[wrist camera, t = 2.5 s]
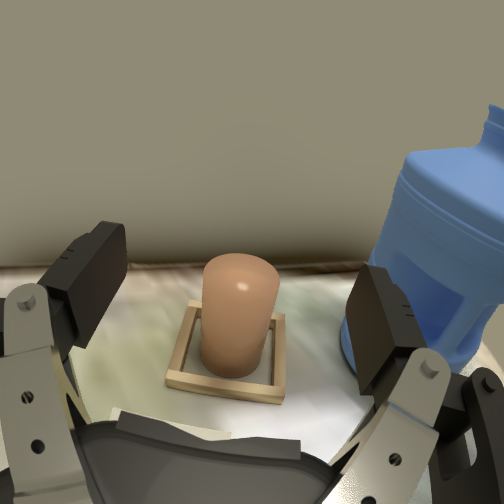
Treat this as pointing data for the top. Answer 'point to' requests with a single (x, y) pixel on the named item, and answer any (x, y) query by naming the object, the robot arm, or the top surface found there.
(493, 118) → the water jug
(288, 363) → the top surface
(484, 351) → the top surface
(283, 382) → the wooden frame
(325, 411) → the top surface
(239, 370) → the pillar candle
